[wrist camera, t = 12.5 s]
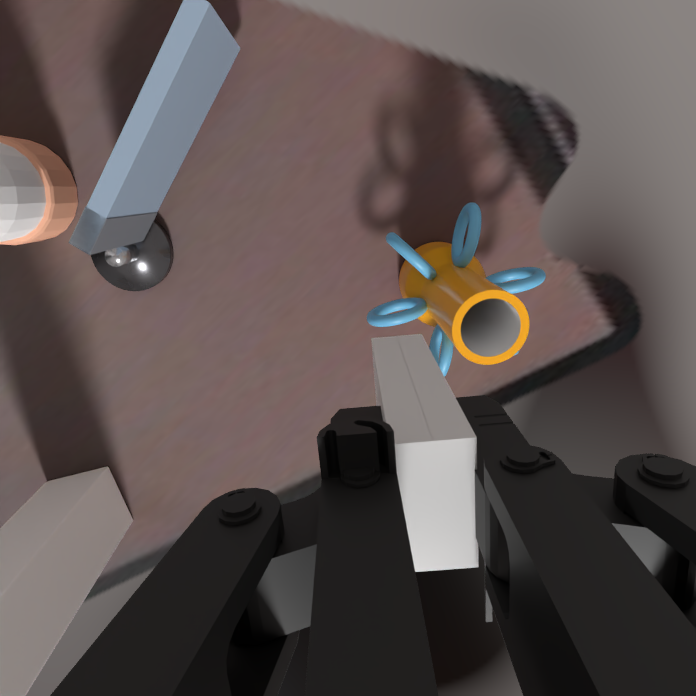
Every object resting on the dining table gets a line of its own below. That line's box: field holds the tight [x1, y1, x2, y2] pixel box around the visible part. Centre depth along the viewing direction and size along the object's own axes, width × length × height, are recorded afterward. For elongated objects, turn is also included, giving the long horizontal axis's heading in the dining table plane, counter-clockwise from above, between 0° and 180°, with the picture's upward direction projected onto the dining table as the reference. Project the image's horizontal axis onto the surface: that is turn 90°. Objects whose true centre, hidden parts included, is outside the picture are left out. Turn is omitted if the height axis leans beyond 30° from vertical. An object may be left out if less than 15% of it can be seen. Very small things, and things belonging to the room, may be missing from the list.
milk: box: [0, 466, 133, 696], centre depth 35 cm, size 6×6×22 cm
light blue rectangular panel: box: [69, 0, 241, 255], centre depth 31 cm, size 15×1×8 cm, turn 147°
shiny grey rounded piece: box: [91, 220, 173, 291], centre depth 37 cm, size 6×6×4 cm
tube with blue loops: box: [367, 202, 546, 377], centre depth 33 cm, size 12×10×15 cm
